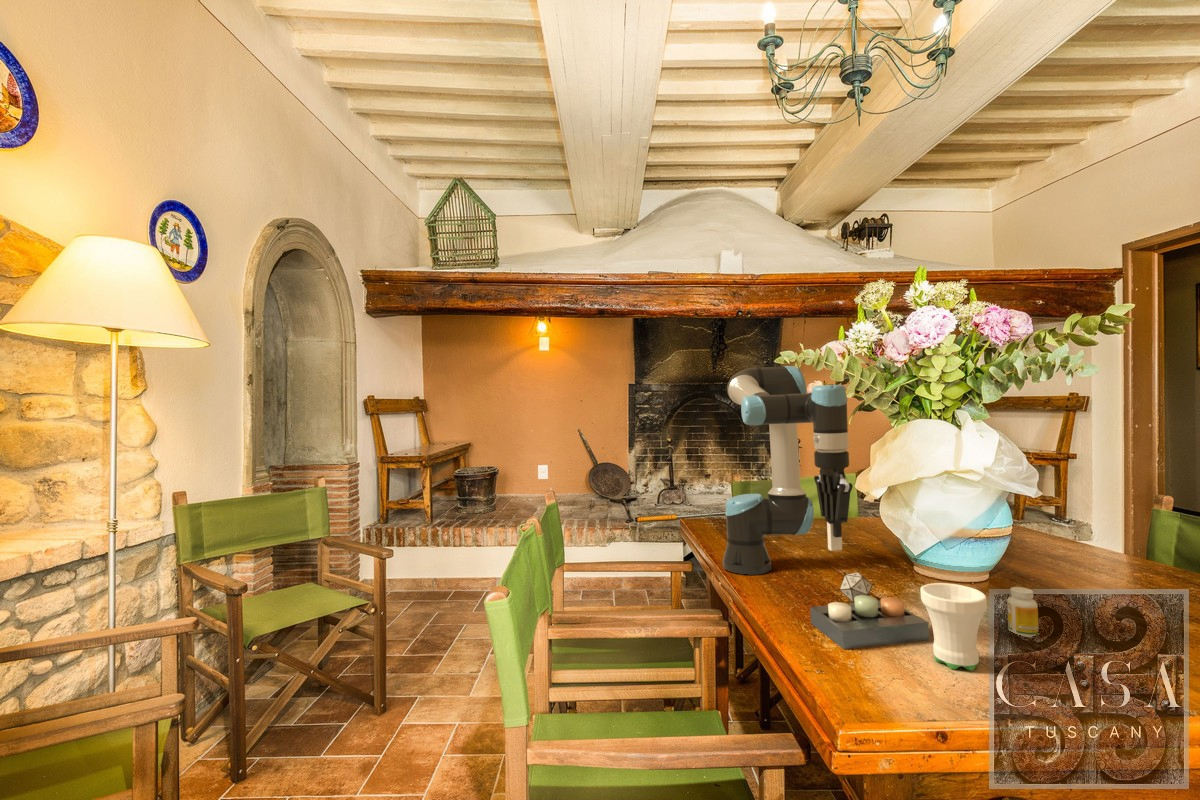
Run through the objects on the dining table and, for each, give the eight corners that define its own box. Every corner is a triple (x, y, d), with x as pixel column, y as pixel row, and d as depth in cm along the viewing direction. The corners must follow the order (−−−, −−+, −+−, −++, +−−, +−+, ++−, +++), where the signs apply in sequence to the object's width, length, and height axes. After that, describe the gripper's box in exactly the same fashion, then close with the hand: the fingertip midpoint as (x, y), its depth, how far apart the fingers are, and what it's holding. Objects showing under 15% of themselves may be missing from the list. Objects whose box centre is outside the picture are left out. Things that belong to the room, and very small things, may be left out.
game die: (865, 618, 141) (882, 595, 135) (832, 605, 143) (847, 582, 137) (863, 591, 148) (879, 568, 143) (831, 579, 150) (846, 556, 144)
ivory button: (824, 617, 126) (824, 603, 126) (844, 615, 127) (843, 601, 127) (836, 625, 121) (835, 610, 121) (856, 623, 122) (855, 609, 122)
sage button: (850, 610, 127) (850, 596, 127) (869, 608, 128) (869, 594, 128) (863, 617, 122) (862, 603, 122) (882, 615, 123) (882, 601, 123)
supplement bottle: (1002, 629, 123) (1000, 587, 123) (1020, 626, 124) (1018, 584, 124) (1026, 639, 117) (1024, 595, 117) (1045, 635, 119) (1043, 592, 119)
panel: (811, 623, 131) (810, 607, 131) (888, 616, 133) (887, 599, 133) (843, 649, 117) (842, 630, 117) (929, 640, 119) (928, 622, 119)
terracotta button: (876, 611, 128) (876, 598, 128) (895, 610, 128) (895, 596, 128) (890, 619, 123) (889, 605, 123) (909, 617, 124) (908, 603, 124)
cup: (959, 681, 102) (955, 605, 102) (910, 655, 113) (907, 587, 113) (1004, 670, 105) (1000, 597, 105) (952, 646, 116) (949, 579, 116)
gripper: (802, 448, 134) (806, 543, 135) (830, 454, 121) (835, 559, 122) (831, 446, 135) (835, 540, 135) (862, 452, 122) (866, 556, 122)
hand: (835, 549), depth 129 cm, fingers closed
